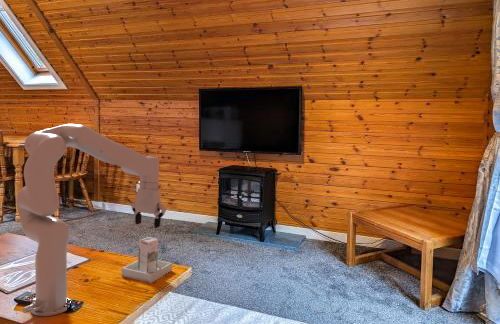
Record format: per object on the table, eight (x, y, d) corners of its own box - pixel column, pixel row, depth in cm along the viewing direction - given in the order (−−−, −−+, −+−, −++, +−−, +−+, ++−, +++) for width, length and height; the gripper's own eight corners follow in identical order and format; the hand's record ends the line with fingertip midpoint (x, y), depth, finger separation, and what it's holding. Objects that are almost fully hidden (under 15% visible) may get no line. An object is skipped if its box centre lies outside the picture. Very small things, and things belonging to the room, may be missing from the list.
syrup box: (148, 268, 171) (149, 236, 169) (157, 271, 167) (158, 239, 166) (137, 271, 166) (138, 239, 164) (147, 275, 163) (147, 242, 161)
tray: (151, 283, 157) (151, 274, 157) (121, 276, 163) (121, 268, 162) (171, 270, 171) (172, 263, 171) (144, 264, 177) (144, 257, 176)
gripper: (126, 184, 163) (125, 224, 164) (161, 189, 156) (159, 230, 158) (138, 182, 169) (136, 220, 171) (171, 186, 163) (169, 226, 165)
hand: (147, 225), depth 164 cm, fingers open, 9 cm apart
